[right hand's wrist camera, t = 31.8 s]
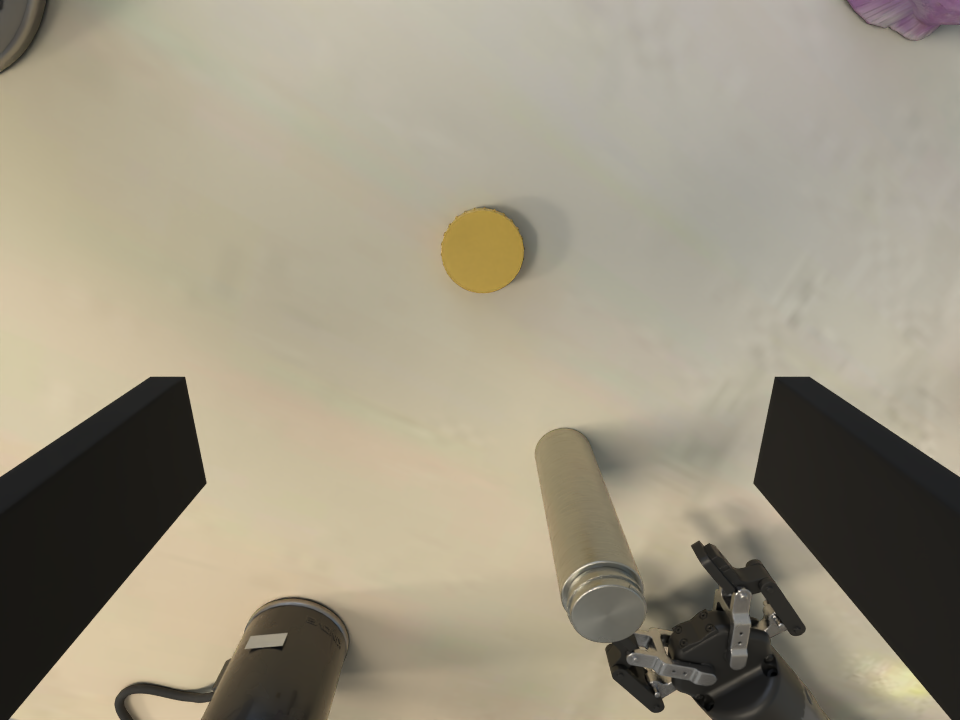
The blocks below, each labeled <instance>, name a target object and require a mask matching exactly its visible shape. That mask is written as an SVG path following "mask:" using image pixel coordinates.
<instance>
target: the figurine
mask: <svg viewBox="0 0 960 720" xmlns="http://www.w3.org/2000/svg"><path fill="white" fill-rule="evenodd" d="M847 1H848V3H849V4H850V5H851V7H852V8H853V9H854V11H855V12H856V13H857V14H858V15H860V16H861V17H862V18H863V19H864V20H865V21H866V22H867V23H869V24H873V25H877V26H880V27H884V28H886V27H890V28H891V29H892V30H895V31H897V32H898V33H899V34H901V35H903V36H904V37H905V38H907V39H910V40H921V39H923V38H924V37H927V36H929V35H930V34H931V33H932V32H933V31H935V30H936V29H937V28H938V27H939V26H940V25H941V24H946V25H950V24H951V25H960V0H847Z"/></svg>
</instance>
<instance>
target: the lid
mask: <svg viewBox="0 0 960 720" xmlns="http://www.w3.org/2000/svg"><path fill="white" fill-rule="evenodd" d="M518 230H519V229H518V227H516V226H515V225H514V223H513V221H512V219H509V218H508V217H507V216H505V214H504V213H503V214H502V213H500V212H498V211H496V210H495V209H494V210H492V209H487V208H485V207H484V208H479V209H476V208H474V209H473V210H470V211H467V212H466V211H464V213H463V214H461V215H460V216H459V217H458V216H457V217H456V218H455V220H454V221H453V222H452V224H449V228H448V230H447V232H445V233H444V239H443V242H442V243H441V245H442V252H441V256H442V261H443V265H444V267H445V270H446V271H447V274H448V275H449V276H450V278H451V279H452V280H453V281H454V282H455V283H456V284H458V285H459V286H460V287H462V288H464V289H466V290H468V291H471V292H476V293H489V292H494V291H497V290H499V289H501V288H503V287H505V286H506V285H508V284H509V283H510V282H511V281H512V280H513V279H514V278H515V277H516V275H517V273H518V272H519V270H520V269H521V265H522V262H523V260H524V258H523V256H524V246H523V242H522V240H523V238H522V236H521V235H520V233H519V231H518Z"/></svg>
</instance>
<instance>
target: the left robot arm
mask: <svg viewBox="0 0 960 720" xmlns="http://www.w3.org/2000/svg"><path fill="white" fill-rule="evenodd" d="M691 547H692V549H693V550H694V552H695V554H696V556H697V558H698V559H699V561H700V563H701V564H702V565H703V567H704V568H705V569H706V570H707V571H708V573H709V574H710V575H711V576H712V577H713V579H714V580H715V581H716V582H717V583H718V584H719V589H716V590H715V596H714V604H713V610H712V611H707V610H706V609H705V610H703V611H701V612H700V613H698V614H697V615H696V616H695V617H693V618H692V619H691V620H690V621H687V622H684V623H681V624H679V625H677V626H676V627H674V628H672V629H673V631H669V630H663V629H658V628H650V629H649V631H643V630H637V631H636V632H635V633H634V634H632V635H631V636H629V637H627V638H625V639H623V640H620V641H617V642H612V643H613V644H609V645H608V646H606V648H605V651H606V655H607V658H608V662H609V666H610V670H611V674H612V677H613V679H614V680H615V681H616V682H618V683H619V684H620V685H621V686H622V687H623V688H625V689H626V690H627V691H628V692H629V693H630V694H632V695H633V696H634V697H635V698H636V699H637V700H639V701H640V702H641V703H642V704H643V705H644V706H646V707H647V708H648V709H649V710H650V711H651V712H654V713H658V712H661V711H662V710H663V709H664V703H663V700H662V698H664V697H665V696H667V695H669V694H670V693H672V692H674V691H675V690H678V691H680V692H682V693H686V694H688V695H690V696H691V697H692V698H693V699H694V700H695V701H696V703H697V704H698V705H699V706H700V707H701V708H702V709H703V710H704V711H705V712H706V713H707V714H708V715H709V717H710V718H711V719H712V720H830V719H829V718H828V716H827V715H826V714H825V713H824V712H823V711H822V709H821V708H820V707H819V705H818V703H817V701H816V700H815V698H814V697H813V695H812V694H811V692H810V691H809V689H808V688H807V687H806V686H805V685H804V683H803V682H802V681H801V680H800V679H799V677H798V676H797V675H796V674H795V673H794V671H793V670H792V669H791V668H790V667H789V666H788V664H787V663H786V662H785V661H784V660H783V659H782V657H781V656H780V655H779V654H778V653H777V651H776V650H775V649H774V648H773V647H772V646H771V640H770V638H771V637H773V636H775V635H777V634H779V633H781V632H783V631H785V630H788V631H789V633H790V634H791V635H793V636H799V635H801V634H803V633H804V632H805V629H806V628H805V626H804V624H803V623H802V621H801V620H800V618H799V617H798V615H797V614H796V612H795V611H794V609H793V608H792V606H791V605H790V603H789V602H788V600H787V599H786V598H785V596H784V595H783V593H782V592H781V590H780V589H779V587H778V586H777V584H776V583H775V581H774V580H773V579H772V578H771V576H770V575H769V573H768V572H767V570H766V569H765V567H764V566H763V564H762V563H761V562H760V561H759V560H756V559H754V560H750V561H749V562H748V563H747V564H746V567H745V568H740V569H738V568H734V567H732V566H731V565H730V563H729V562H728V561H727V560H726V558H725V557H724V556H723V555H722V554H721V552H720V551H719V550H718V549H717V548H716V546H714V545H712V544H710V543H709V544H707V545H705V546H703V544H702V543H701V542H700V541H697V542H696V543H694V544H693V545H691ZM759 592H762V594H763V595H764V597H765V598H766V600H765V601H764V602H763V604H764V606H765V607H764V608H763V613H764V617H763V619H762V620H761V621H759V620H757V619H755V618H753V617H749V609H750V603H751V597H752V594H756V593H759ZM348 646H349V638H348V633H347V630H346V628H345V626H344V624H343V623H342V622H341V620H340V619H339V618H338V617H337V616H336V615H335V614H334V613H333V612H331V611H330V610H329V609H327V608H325V607H323V606H322V605H319V604H317V603H314V602H311V601H307V600H302V599H281V600H276V601H273V602H270V603H268V604H266V605H264V606H262V607H261V608H259V609H258V610H257V611H256V612H255V613H254V614H253V615H252V617H251V618H250V620H249V622H248V624H247V626H246V628H245V631H244V635H243V637H242V639H241V641H240V643H239V645H238V647H237V649H236V651H235V653H234V655H233V656H232V658H231V659H229V660H227V661H226V662H225V664H224V666H223V668H222V670H221V672H220V674H219V676H218V678H217V680H216V682H215V684H214V686H213V688H212V690H213V691H214V692H210V693H204V694H201V693H192V692H184V691H178V690H174V689H169V688H165V687H160V686H155V685H147V684H138V685H132V686H129V687H126V688H125V689H123V690H122V691H121V692H120V693H119V694H118V695H117V697H116V699H115V709H116V712H117V714H118V716H119V718H120V720H133V719H132V717H131V716H130V714H129V713H128V711H127V710H126V708H125V706H124V699H125V698H126V697H127V696H128V695H131V694H136V693H143V694H151V695H156V696H161V697H165V698H170V699H174V700H180V701H188V702H196V703H204V702H210V703H209V705H208V707H207V709H206V711H205V713H204V715H203V717H202V719H201V720H328V716H329V712H330V709H331V705H332V701H333V697H334V694H335V690H336V687H337V683H338V679H339V676H340V672H341V668H342V664H343V662H344V660H345V657H346V654H347V650H348ZM639 646H641V647H645V648H646V649H647V650H648V651H647V650H641V649H639ZM664 646H666V647H668V655H667V654H666V651H665V649H664ZM644 667H646V669H645V668H644ZM652 669H653V670H654V671H655V672H653V671H652Z"/></svg>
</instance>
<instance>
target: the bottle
mask: <svg viewBox="0 0 960 720" xmlns="http://www.w3.org/2000/svg"><path fill="white" fill-rule="evenodd" d="M535 459H536V465H537V470H538V476H539V481H540V487H541V492H542V498H543V503H544V508H545V514H546V519H547V525H548V530H549V536H550V541H551V547H552V552H553V557H554V563H555V568H556V574H557V579H558V585H559V590H560V596H561V601H562V604H563V607H564V609H565V610H566V612H567V614H568V617H569V619H570V622H571V624H572V625H573V627H574V628H575V630H576V631H577V632H578V633H579V634H580V635H581V636H583V637H584V638H586V639H588V640H591V641H594V642H600V643H611V642H617V641H620V640H623V639H625V638H627V637H629V636H631V635H632V634H634V633H635V632H636V631H637V630H638V629H639V628H640V626H641V625H642V623H643V621H644V620H645V616H646V613H647V604H646V601H645V598H644V585H643V582H642V579H641V577H640V574H639V571H638V569H637V566H636V563H635V561H634V558H633V556H632V553H631V550H630V548H629V545H628V543H627V540H626V537H625V535H624V532H623V530H622V527H621V524H620V522H619V519H618V516H617V514H616V511H615V509H614V506H613V503H612V501H611V498H610V496H609V493H608V490H607V488H606V485H605V482H604V480H603V477H602V475H601V472H600V469H599V467H598V464H597V462H596V459H595V456H594V454H593V451H592V448H591V446H590V443H589V441H588V440H587V438H586V437H585V436H584V435H583V434H581V433H580V432H578V431H576V430H573V429H566V428H563V429H556V430H553V431H551V432H549V433H547V434H546V435H544V436H543V437H542V438H541V440H540V441H539V442H538V444H537V446H536V450H535Z"/></svg>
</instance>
